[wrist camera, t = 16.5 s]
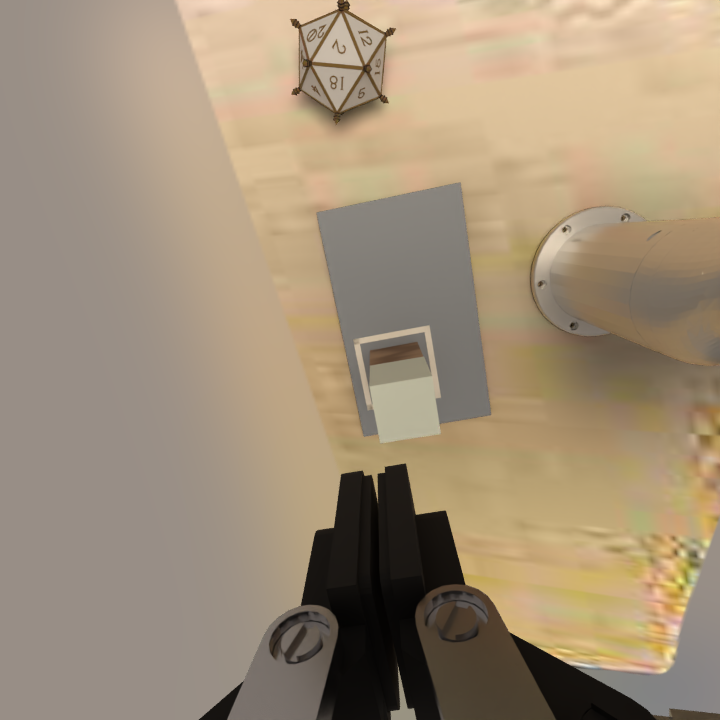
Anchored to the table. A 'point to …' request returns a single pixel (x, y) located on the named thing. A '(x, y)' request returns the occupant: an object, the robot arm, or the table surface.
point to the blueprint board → (408, 294)
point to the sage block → (403, 400)
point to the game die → (341, 60)
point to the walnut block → (395, 353)
